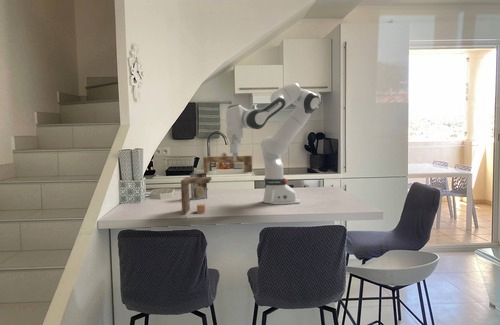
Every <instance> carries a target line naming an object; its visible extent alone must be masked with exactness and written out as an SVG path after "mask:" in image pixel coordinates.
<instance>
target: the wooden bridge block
mask: <svg viewBox="0 0 500 325" xmlns="http://www.w3.org/2000/svg"><path fill="white" fill-rule="evenodd" d="M202 159H203V162H202V163H203V173H206V174H208V173H210V163H243V171H244V173H252V172H253V155H238V156H237V161H233V155H229V156H228V155H227V156H226V155H225V156H224V155H223V156H222V155H220V156H218V155H217V156H216V155H215V156H210V155H209V156H208V155H206V156H204V157H203V158H202Z"/></svg>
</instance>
